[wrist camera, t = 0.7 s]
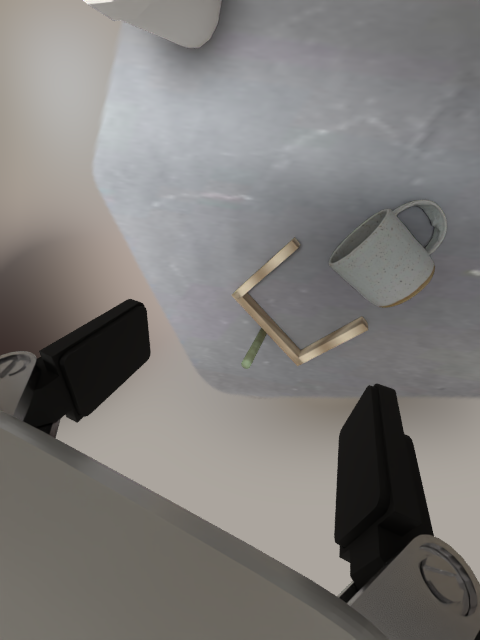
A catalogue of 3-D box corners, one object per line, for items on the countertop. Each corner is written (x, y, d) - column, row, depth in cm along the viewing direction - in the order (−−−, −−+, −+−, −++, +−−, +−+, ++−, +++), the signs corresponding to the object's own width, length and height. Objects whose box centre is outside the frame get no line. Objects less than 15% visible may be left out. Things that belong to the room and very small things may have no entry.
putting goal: (294, 237, 33) (276, 258, 24) (367, 322, 34) (373, 368, 26) (231, 294, 40) (202, 325, 32) (293, 361, 42) (281, 406, 34)
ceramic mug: (373, 296, 33) (380, 324, 26) (328, 253, 32) (325, 271, 26) (461, 232, 27) (498, 249, 20) (408, 178, 26) (428, 178, 20)
